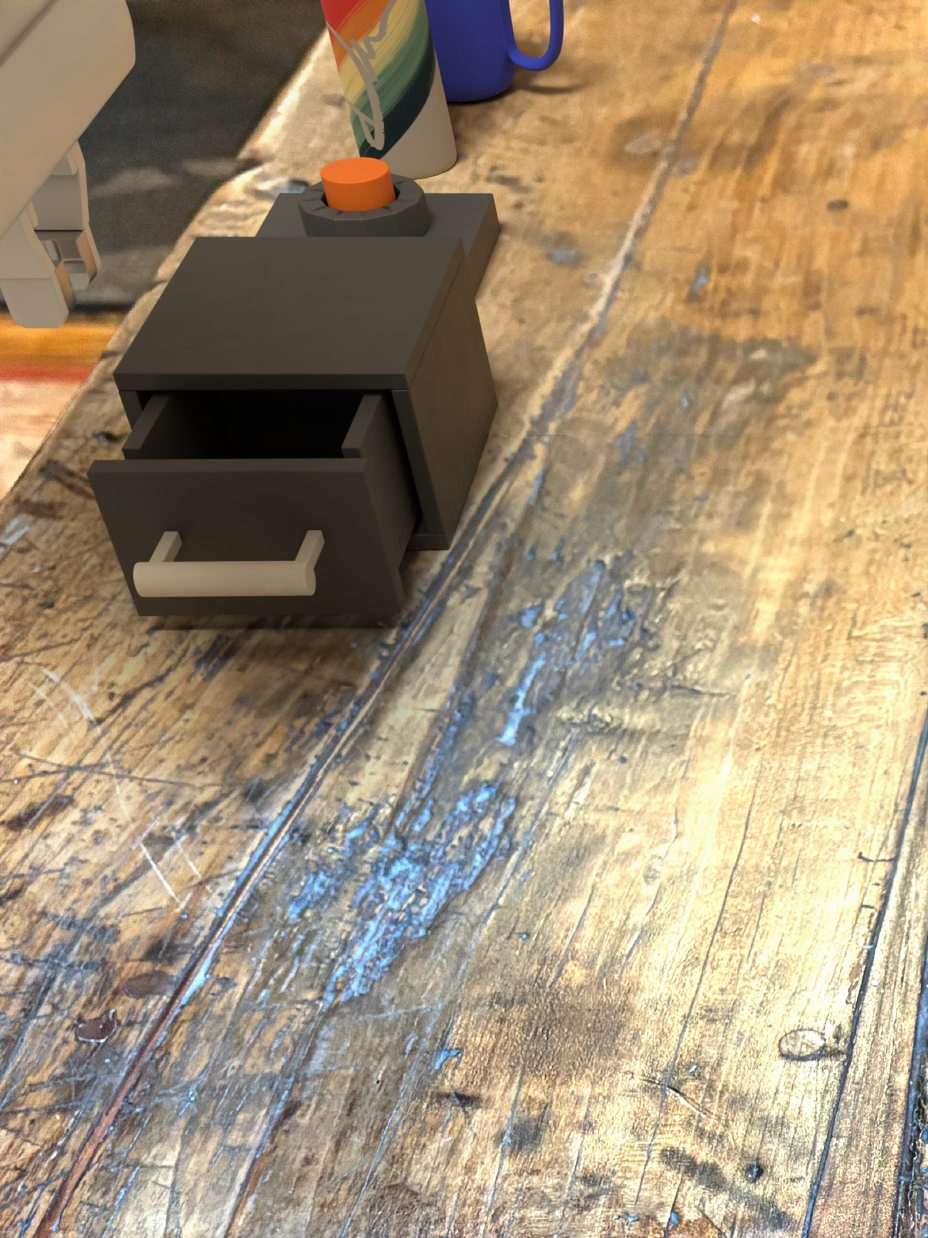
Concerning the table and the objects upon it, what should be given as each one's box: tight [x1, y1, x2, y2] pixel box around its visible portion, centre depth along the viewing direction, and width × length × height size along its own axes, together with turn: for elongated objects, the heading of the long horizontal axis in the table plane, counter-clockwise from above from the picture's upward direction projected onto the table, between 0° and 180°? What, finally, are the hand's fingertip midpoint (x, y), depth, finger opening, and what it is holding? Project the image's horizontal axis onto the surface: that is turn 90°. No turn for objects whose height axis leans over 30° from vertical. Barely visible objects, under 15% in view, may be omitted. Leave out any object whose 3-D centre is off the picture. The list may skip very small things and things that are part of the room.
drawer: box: [85, 389, 421, 617], centre depth 99 cm, size 18×11×7 cm, turn 4°
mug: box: [424, 0, 565, 103], centre depth 140 cm, size 8×12×10 cm
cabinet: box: [112, 236, 499, 550], centre depth 106 cm, size 15×13×9 cm
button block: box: [254, 173, 502, 297], centre depth 124 cm, size 12×10×4 cm
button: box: [319, 156, 396, 211], centre depth 122 cm, size 4×4×2 cm
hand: (61, 300), depth 79 cm, fingers closed
